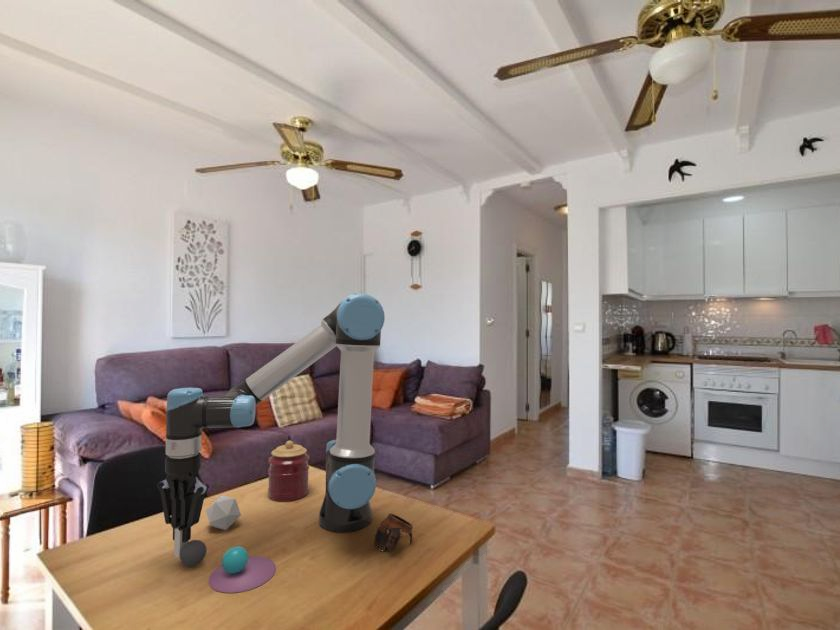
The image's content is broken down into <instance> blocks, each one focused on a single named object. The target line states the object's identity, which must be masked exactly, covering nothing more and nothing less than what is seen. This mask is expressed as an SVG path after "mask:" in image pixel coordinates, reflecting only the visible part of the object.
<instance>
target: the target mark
mask: <svg viewBox="0 0 840 630" xmlns="http://www.w3.org/2000/svg"><path fill="white" fill-rule="evenodd" d="M276 569H277V566H276V563H275V562H274V561H273V560H272V559H270V558H268V557H265V556H257V555H255V556H254V555H253V556H252V555H251V556H249V555H248V562H247V564H246V566H245V568H244V569H243V570H242V571H240V572H239V573H236V574H229V573H227V572H225V571H224V569H223V567H222V564H221V565H219V566H218V567H216V568H215V569H214V570H213V571H212V573H210V576H209V577H208V584H209V587H210V588H211V589H212V590H214V591H216V592H219V593H221V594H222V593H223V594H236V593H237V594H238V593H244V592H248V591H251V590H254V589H256V588H258V587H261V586H263V585H264V584H266V583H267V582H268V581H270V580H271V579H272V578H273V576H275V573H276Z"/></svg>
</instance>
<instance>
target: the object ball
mask: <svg viewBox="0 0 840 630" xmlns="http://www.w3.org/2000/svg"><path fill="white" fill-rule="evenodd" d="M248 554H249V553H248V552H247V550H246V549H245V548H244V547H243V546H237V545H236V546H233V547H230V548H229V549H228V550H227V551H225V553H224V554H223V557H222V559H221V565H222V567H223V569H224V571H225V572H227V573H229V574H236V573H239V572H240V571H242V570H243V569H244V568H245V566H246V564H247V562H248V557H249V555H248Z"/></svg>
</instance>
